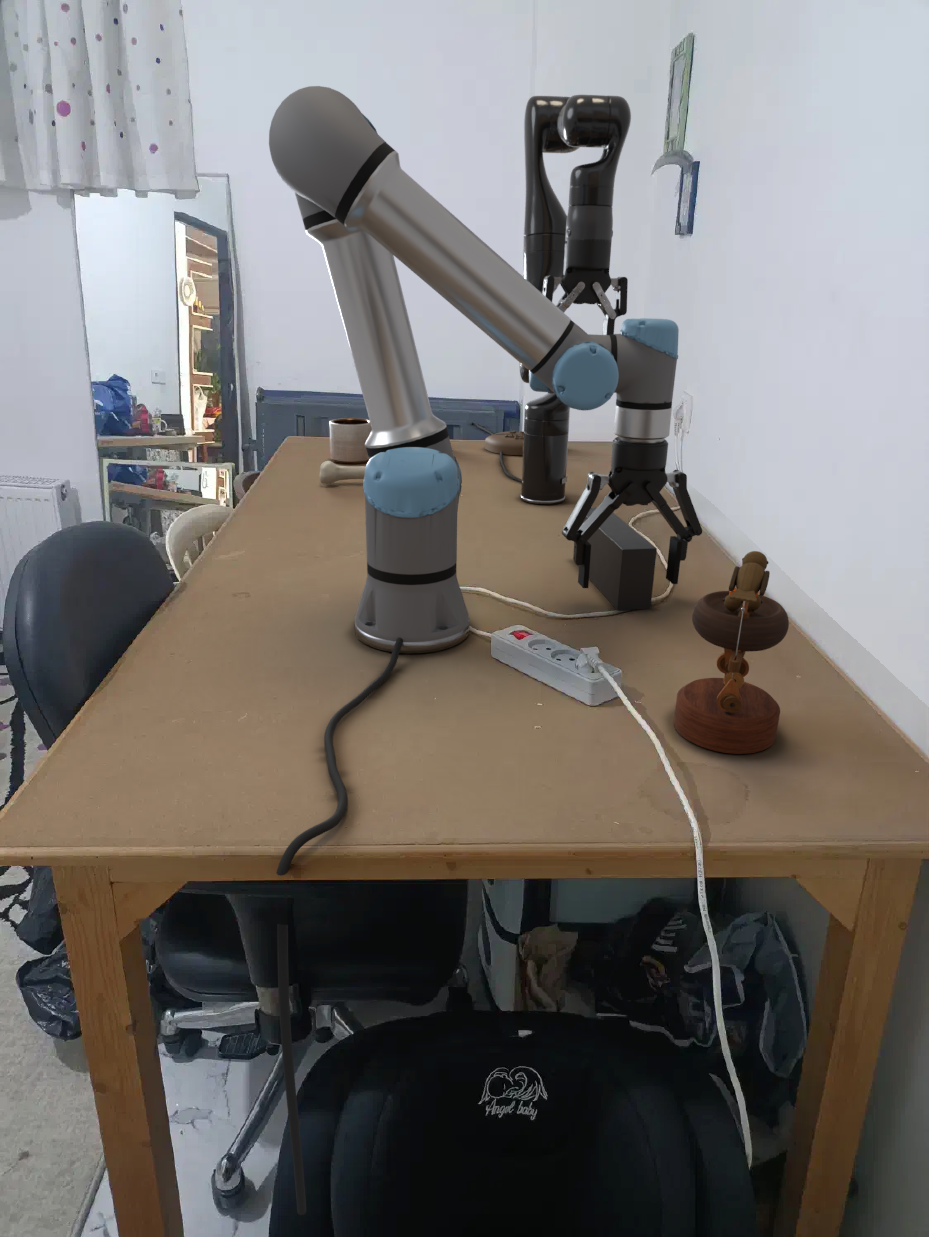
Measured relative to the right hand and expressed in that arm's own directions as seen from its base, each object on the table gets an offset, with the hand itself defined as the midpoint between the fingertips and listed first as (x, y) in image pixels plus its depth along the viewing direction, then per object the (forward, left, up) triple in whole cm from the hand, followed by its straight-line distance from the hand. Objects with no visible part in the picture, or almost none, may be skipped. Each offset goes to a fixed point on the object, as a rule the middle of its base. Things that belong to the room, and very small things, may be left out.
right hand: (581, 342), depth 143 cm
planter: (-68, -41, -34) cm, 86 cm away
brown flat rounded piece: (-74, +5, -34) cm, 81 cm away
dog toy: (-42, -38, -34) cm, 66 cm away
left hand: (+34, +1, -31) cm, 46 cm away
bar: (+27, 0, -34) cm, 43 cm away
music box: (+72, +1, -34) cm, 79 cm away
